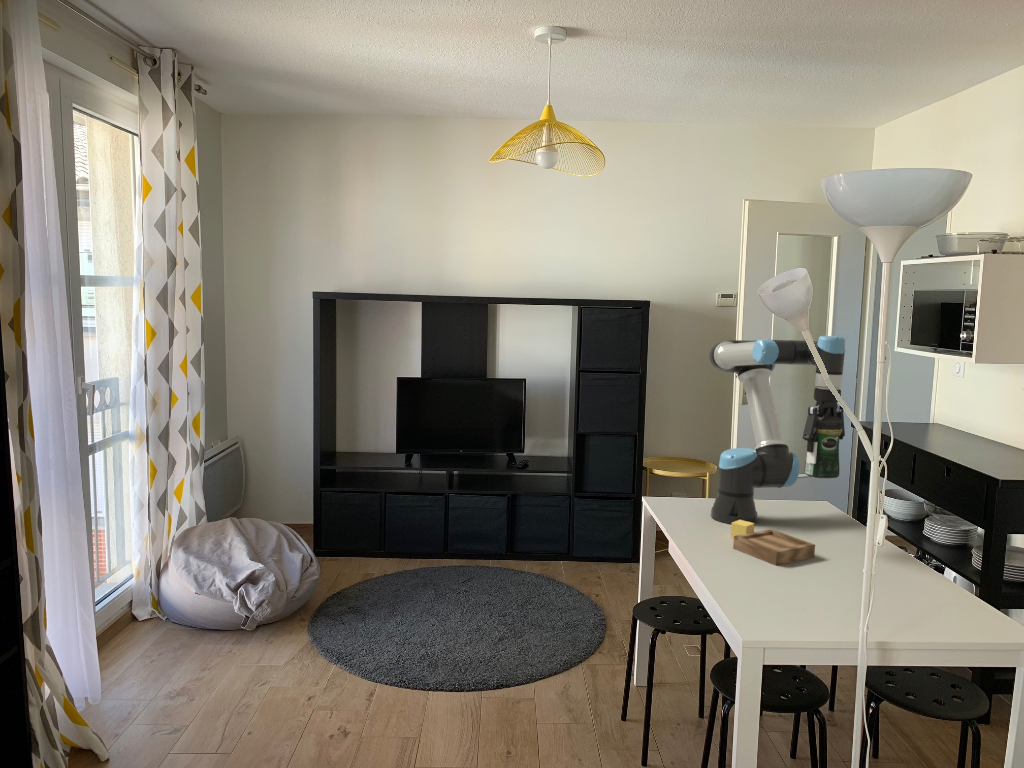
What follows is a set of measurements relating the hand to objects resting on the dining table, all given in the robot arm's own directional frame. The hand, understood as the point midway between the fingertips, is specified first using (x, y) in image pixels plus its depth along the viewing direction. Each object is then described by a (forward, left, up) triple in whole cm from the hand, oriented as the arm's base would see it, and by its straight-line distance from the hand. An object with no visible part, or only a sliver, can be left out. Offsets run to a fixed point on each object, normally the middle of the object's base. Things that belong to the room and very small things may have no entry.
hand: (821, 461), depth 239 cm
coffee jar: (0, 0, -5) cm, 5 cm away
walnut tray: (+20, +1, -25) cm, 32 cm away
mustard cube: (+18, -13, -26) cm, 34 cm away
